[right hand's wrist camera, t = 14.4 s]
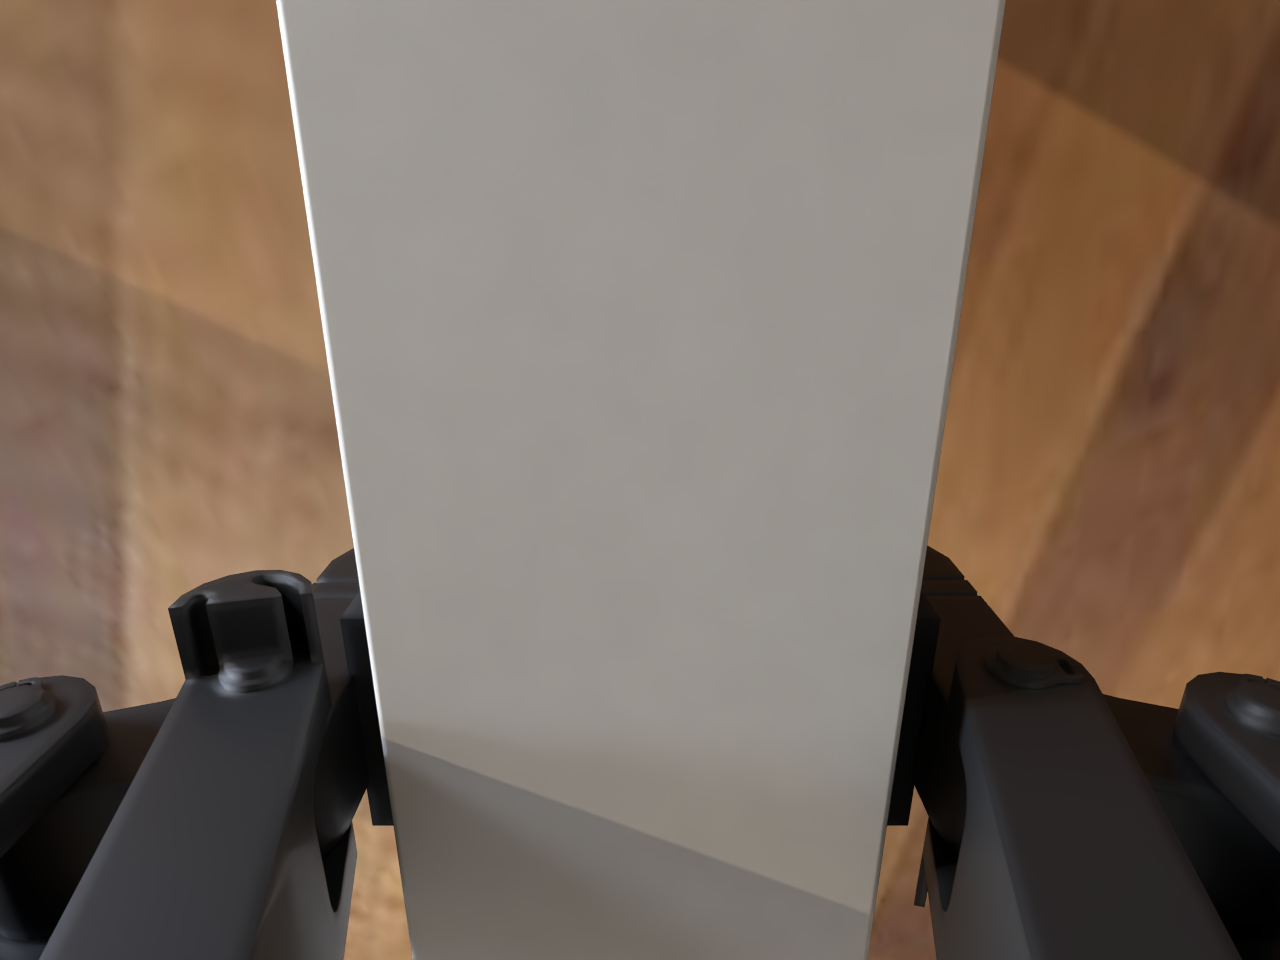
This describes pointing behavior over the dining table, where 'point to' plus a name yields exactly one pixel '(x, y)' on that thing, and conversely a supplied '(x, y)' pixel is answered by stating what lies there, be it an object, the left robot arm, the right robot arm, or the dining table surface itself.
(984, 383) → the dining table surface
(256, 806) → the right robot arm
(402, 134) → the post
